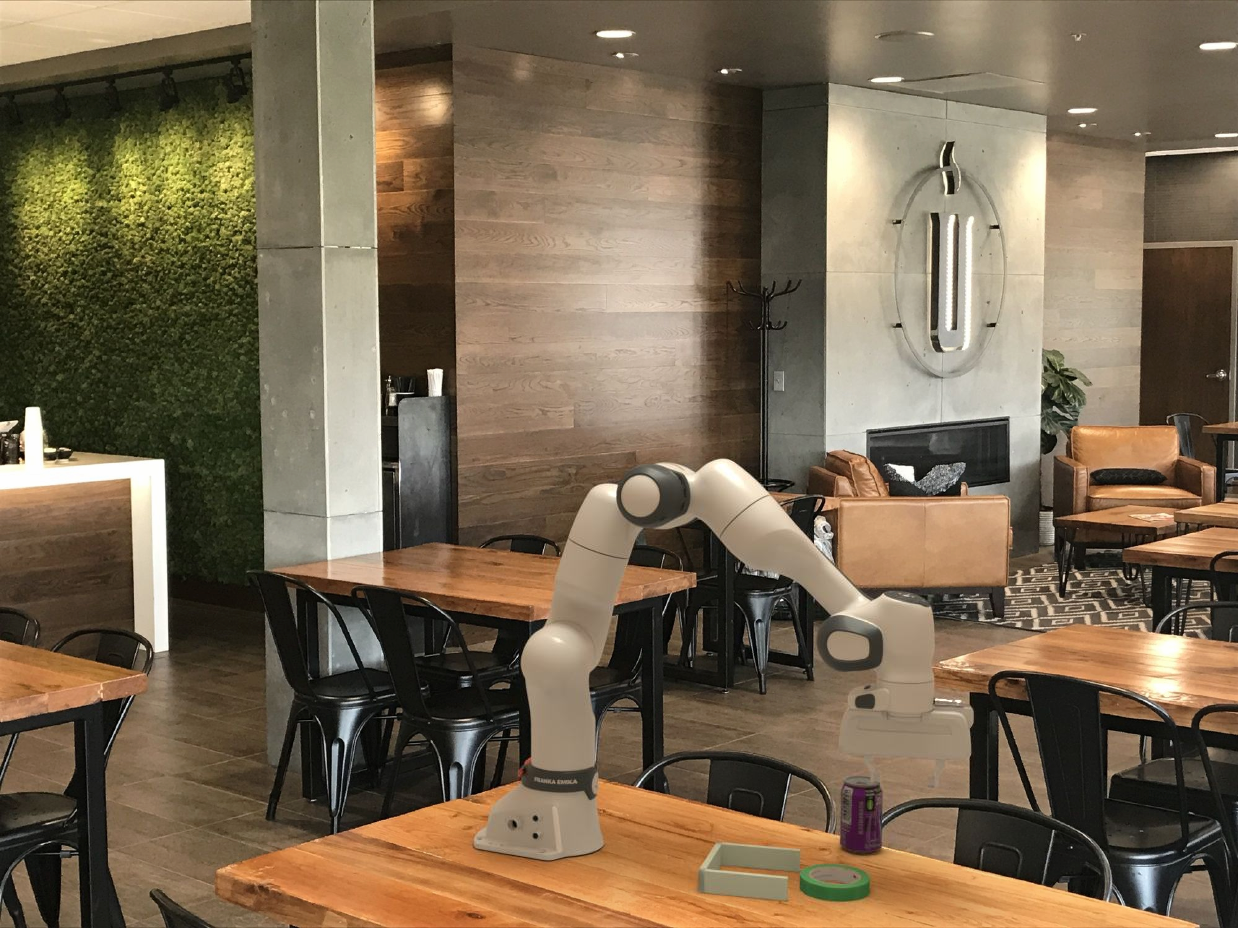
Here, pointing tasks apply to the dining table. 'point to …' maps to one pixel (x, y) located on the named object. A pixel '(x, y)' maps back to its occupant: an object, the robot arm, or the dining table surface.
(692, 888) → the dining table surface
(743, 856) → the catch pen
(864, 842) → the beverage can
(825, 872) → the tape roll
